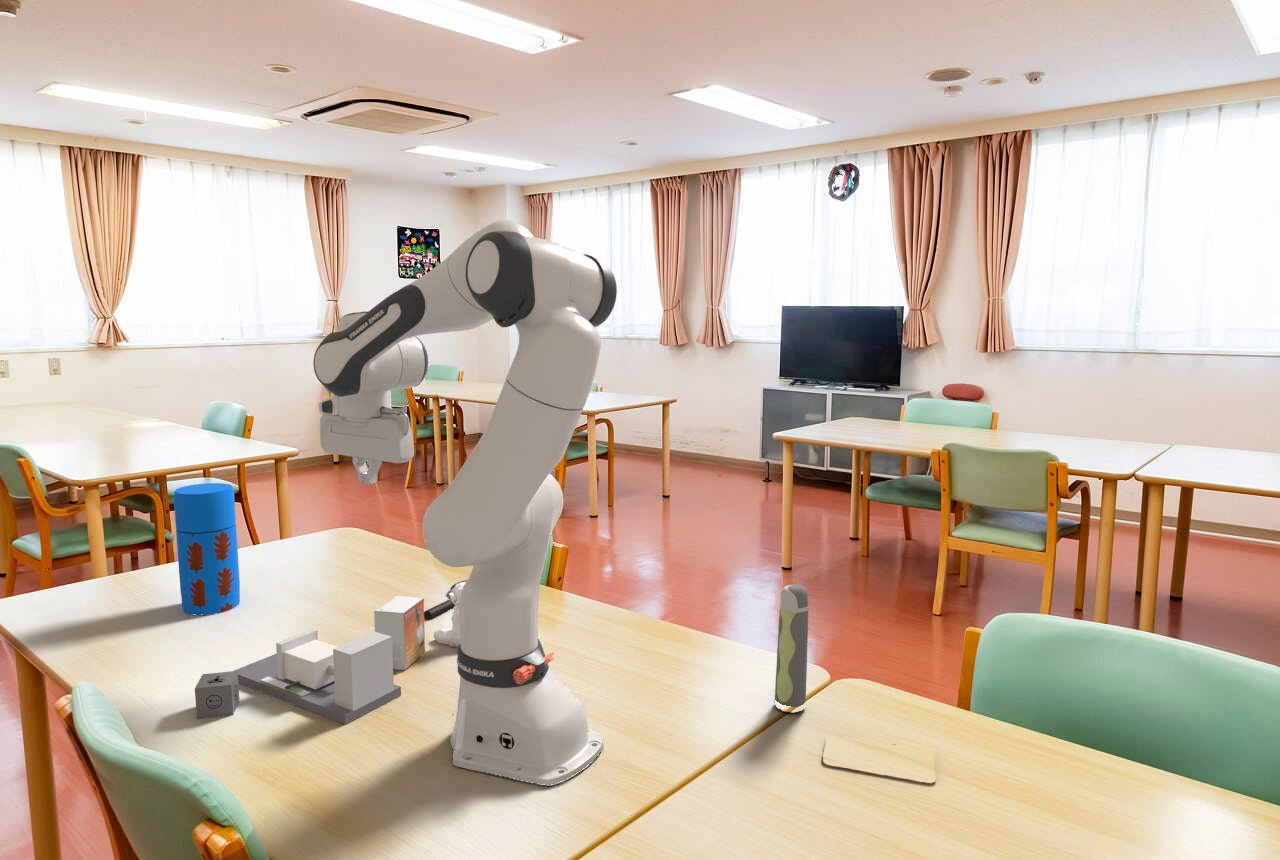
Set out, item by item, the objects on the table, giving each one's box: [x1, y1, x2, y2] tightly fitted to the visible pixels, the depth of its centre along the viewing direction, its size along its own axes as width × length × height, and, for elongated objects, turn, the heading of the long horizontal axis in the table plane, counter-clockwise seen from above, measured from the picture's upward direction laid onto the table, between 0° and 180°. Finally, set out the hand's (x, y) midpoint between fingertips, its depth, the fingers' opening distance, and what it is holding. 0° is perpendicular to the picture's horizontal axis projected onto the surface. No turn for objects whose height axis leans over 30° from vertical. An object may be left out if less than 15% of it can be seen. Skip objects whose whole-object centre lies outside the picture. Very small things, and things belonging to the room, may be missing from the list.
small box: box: [373, 595, 426, 671], centre depth 144 cm, size 8×6×10 cm
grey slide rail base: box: [233, 631, 402, 725], centre depth 133 cm, size 28×11×10 cm, turn 60°
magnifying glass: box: [424, 579, 467, 621], centre depth 175 cm, size 12×24×2 cm, turn 156°
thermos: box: [173, 482, 241, 616], centre depth 168 cm, size 11×11×25 cm
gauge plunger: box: [275, 628, 338, 689], centre depth 132 cm, size 12×9×6 cm
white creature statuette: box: [433, 582, 466, 649], centre depth 152 cm, size 10×9×12 cm
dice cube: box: [194, 670, 240, 720], centre depth 126 cm, size 5×5×5 cm
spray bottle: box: [774, 583, 809, 707], centre depth 128 cm, size 5×5×20 cm
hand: (367, 482), depth 145 cm, fingers closed
